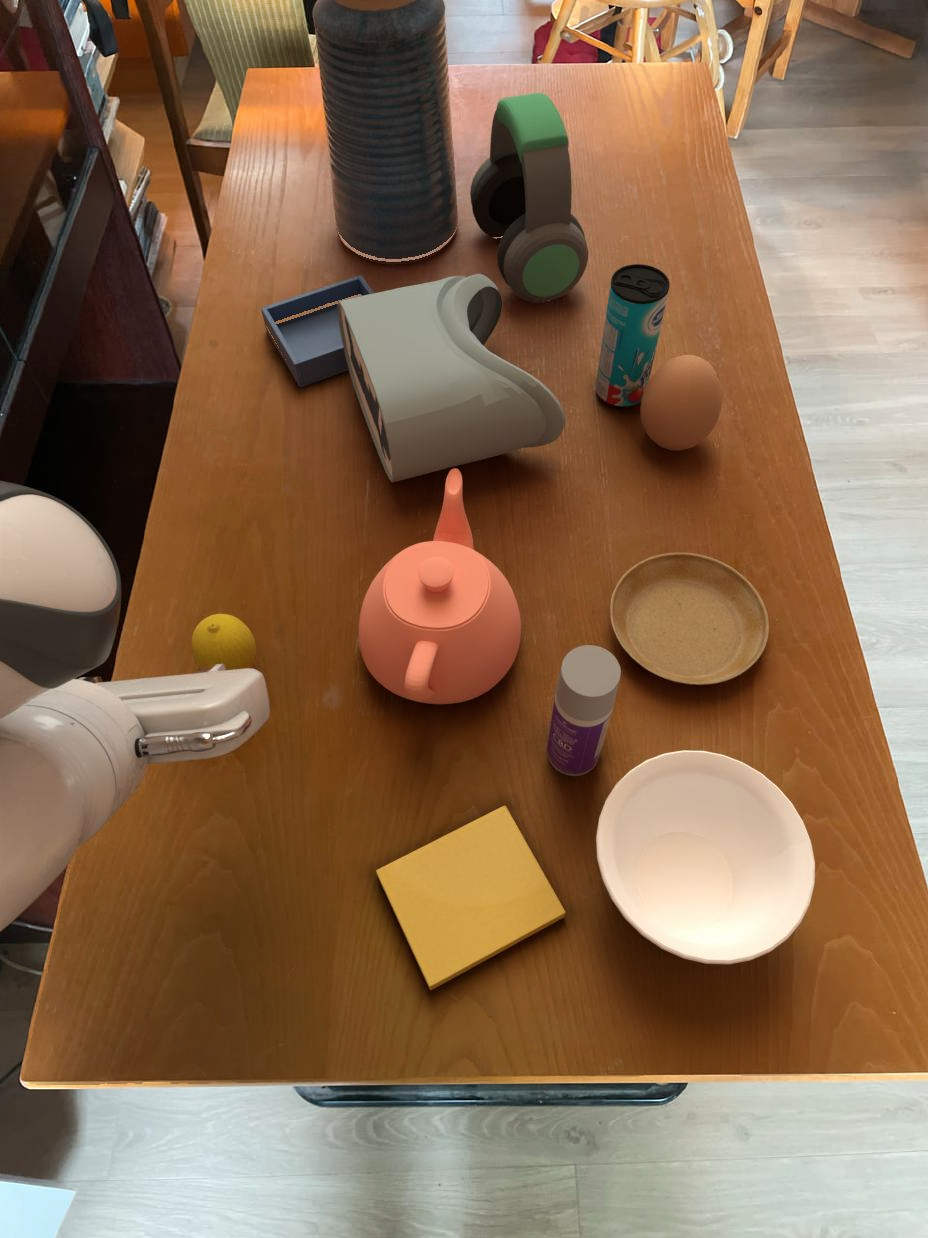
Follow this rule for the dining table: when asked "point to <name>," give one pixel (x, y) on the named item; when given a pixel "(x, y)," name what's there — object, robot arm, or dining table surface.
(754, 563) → the dining table surface
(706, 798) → the bowl
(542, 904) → the yellow board
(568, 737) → the container
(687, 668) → the plant saucer
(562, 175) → the headphones
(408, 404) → the virtual reality goggles
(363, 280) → the blue tray
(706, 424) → the egg
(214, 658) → the lemon
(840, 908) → the dining table surface
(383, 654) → the teapot
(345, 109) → the vase
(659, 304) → the beverage can
